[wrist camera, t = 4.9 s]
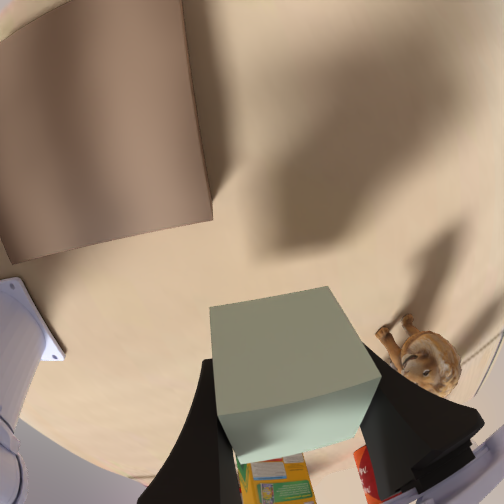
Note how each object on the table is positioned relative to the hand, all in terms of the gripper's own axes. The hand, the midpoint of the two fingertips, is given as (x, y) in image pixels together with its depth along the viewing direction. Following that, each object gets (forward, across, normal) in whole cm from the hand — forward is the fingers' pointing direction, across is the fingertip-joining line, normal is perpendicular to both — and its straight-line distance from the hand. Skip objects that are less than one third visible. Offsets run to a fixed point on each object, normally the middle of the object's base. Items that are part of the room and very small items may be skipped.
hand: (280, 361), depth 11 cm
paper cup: (+7, -17, +43) cm, 47 cm away
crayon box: (+7, +1, +23) cm, 24 cm away
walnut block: (+7, +8, -11) cm, 15 cm away
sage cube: (+1, 0, 0) cm, 1 cm away
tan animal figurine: (+7, -11, +10) cm, 17 cm away
